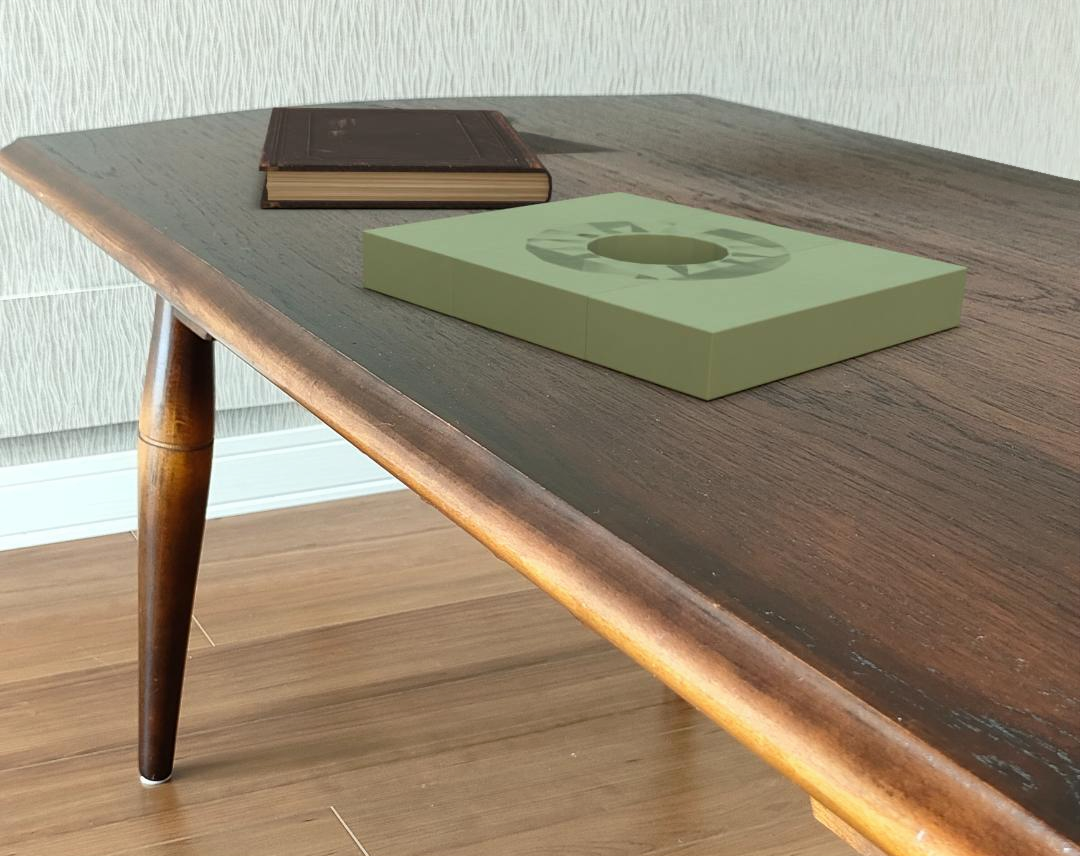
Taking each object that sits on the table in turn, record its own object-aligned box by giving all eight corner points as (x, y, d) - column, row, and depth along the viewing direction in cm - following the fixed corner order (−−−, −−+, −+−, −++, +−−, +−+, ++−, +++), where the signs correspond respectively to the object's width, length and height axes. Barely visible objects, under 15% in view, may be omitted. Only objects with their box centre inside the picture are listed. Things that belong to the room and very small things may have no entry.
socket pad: (959, 326, 60) (968, 267, 59) (707, 401, 50) (712, 331, 49) (617, 241, 74) (619, 191, 73) (363, 287, 64) (362, 230, 63)
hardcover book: (260, 207, 79) (258, 164, 78) (274, 141, 99) (272, 107, 99) (551, 208, 81) (553, 166, 80) (505, 144, 102) (505, 110, 101)
